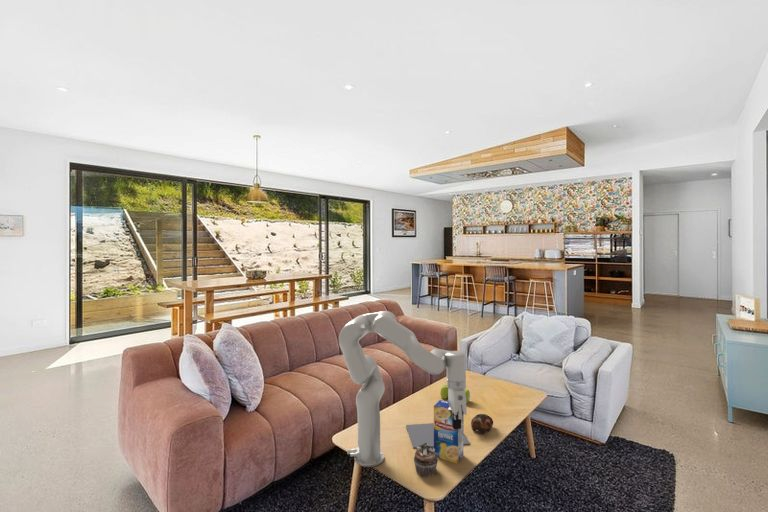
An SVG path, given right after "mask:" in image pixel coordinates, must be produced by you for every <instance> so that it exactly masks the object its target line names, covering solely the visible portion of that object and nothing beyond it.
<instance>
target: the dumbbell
mask: <svg viewBox="0 0 768 512" xmlns="http://www.w3.org/2000/svg"><path fill="white" fill-rule="evenodd" d="M439 394H440V397H441V400H446V399H448V388H447V384H443V385H442V386H441V388H440V392H439ZM465 394H466V405H467V404H469V401H470V398H471V393H470V390H469V389H466V388H465Z"/></svg>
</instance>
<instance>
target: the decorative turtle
mask: <svg viewBox="0 0 768 512" xmlns="http://www.w3.org/2000/svg"><path fill="white" fill-rule="evenodd" d="M470 424H471V431H473V432H476V431H478V432H479V433H480V434H481V435H483V436H484V435H486V433H490V431H491V429H492V428H493V425H494V420H493V418H492V417H491V416H489V415H488V414H485V413H478V414H476V415H475V416H473V417H472V419H471V422H470Z"/></svg>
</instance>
